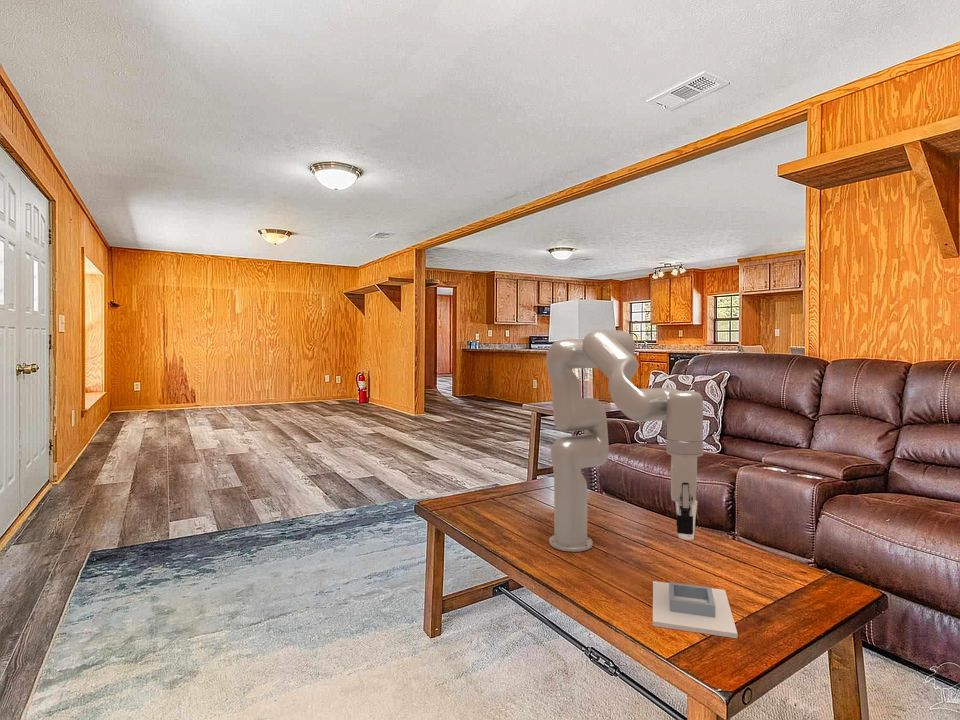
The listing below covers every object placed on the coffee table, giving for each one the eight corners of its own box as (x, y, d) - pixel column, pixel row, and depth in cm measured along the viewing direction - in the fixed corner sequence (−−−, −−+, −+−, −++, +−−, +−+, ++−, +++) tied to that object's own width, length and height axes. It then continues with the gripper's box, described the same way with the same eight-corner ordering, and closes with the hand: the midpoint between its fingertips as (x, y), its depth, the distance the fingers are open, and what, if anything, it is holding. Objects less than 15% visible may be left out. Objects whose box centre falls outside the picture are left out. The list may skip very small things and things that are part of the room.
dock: (652, 585, 130) (653, 570, 130) (724, 594, 126) (725, 579, 125) (652, 626, 111) (652, 609, 111) (737, 638, 107) (737, 621, 106)
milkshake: (675, 532, 122) (676, 488, 122) (700, 537, 119) (700, 492, 119) (668, 537, 119) (668, 491, 119) (693, 542, 115) (693, 496, 115)
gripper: (666, 440, 127) (666, 517, 128) (666, 453, 112) (666, 541, 112) (700, 441, 125) (700, 520, 125) (706, 455, 109) (705, 545, 110)
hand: (684, 529), depth 119 cm, fingers closed on milkshake, 4 cm apart
